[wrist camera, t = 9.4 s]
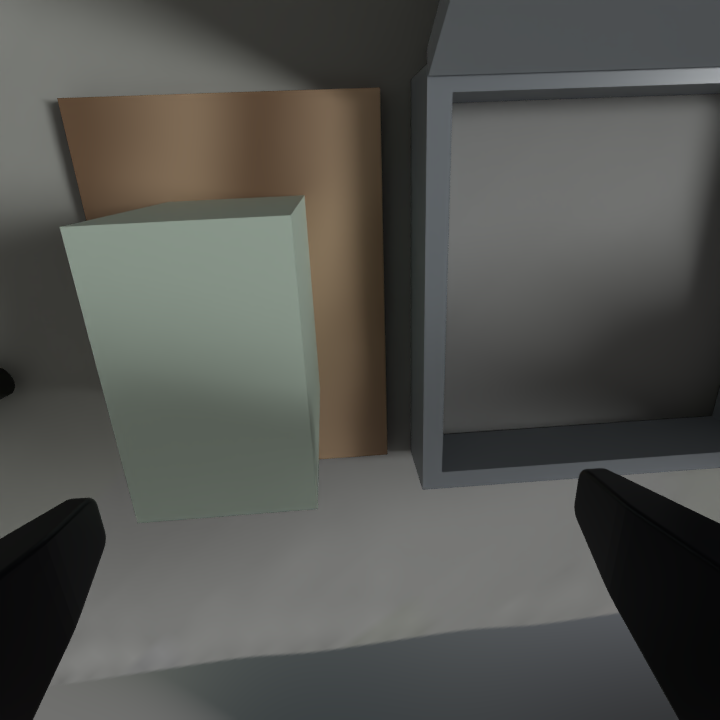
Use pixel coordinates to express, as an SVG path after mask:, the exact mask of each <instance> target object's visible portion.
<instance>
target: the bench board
mask: <svg viewBox="0 0 720 720" xmlns="http://www.w3.org/2000/svg"><path fill="white" fill-rule="evenodd" d="M57 99H58V103H59V107H60V112H61V116H62V120H63V124H64V129H65V133H66V137H67V141H68V145H69V150H70V154H71V158H72V162H73V166H74V171H75V175H76V179H77V183H78V187H79V192H80V196H81V200H82V204H83V209H84V213H85V217H86V221H88V220H92V219H96V218H101V217H105V216H109V215H114V214H118V213H122V212H127V211H131V210H135V209H140V208H144V207H148V206H153V205H157V204H161V203H166V202H176V201H197V200H217V199H238V198H258V197H279V196H299V195H304V196H305V208H306V221H307V233H308V245H309V258H310V270H311V283H312V295H313V307H314V320H315V332H316V345H317V357H318V369H319V382H320V420H319V459H329V458H344V457H358V456H372V455H386V454H387V408H386V359H385V310H384V260H383V211H382V161H381V112H380V88H351V89H321V90H291V91H261V92H231V93H201V94H171V95H141V96H112V97H82V98H57Z"/></svg>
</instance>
